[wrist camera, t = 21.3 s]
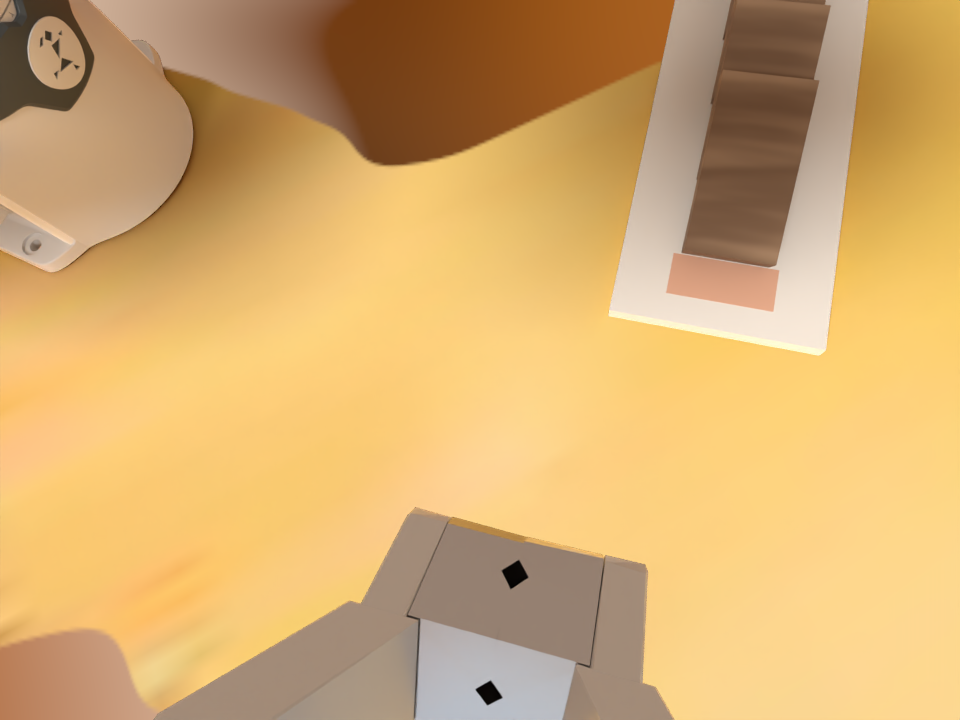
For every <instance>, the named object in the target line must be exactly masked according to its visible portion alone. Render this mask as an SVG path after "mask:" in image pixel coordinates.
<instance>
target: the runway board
mask: <svg viewBox="0 0 960 720" xmlns="http://www.w3.org/2000/svg"><path fill="white" fill-rule="evenodd" d="M868 1H869V0H826V2H825V5H831V7H830V12H829V16H828V20H827V25H826V29H825V33H824V38H823V42H822V46H821V51H820V55H819V59H818V64H817V68H816V72H815V77H814V80H820V81H819V85H818V89H817V93H816V98H815V102H814V106H813V110H812V115H811V119H810V123H809V128H808V132H807V136H806V140H805V145H804V149H803V153H802V157H801V162H800V166H799V170H798V175H797V179H796V183H795V187H794V192H793V196H792V200H791V204H790V209H789V213H788V217H787V222H786V226H785V230H784V234H783V239H782V243H781V247H780V252H779V256H778V260H777V264H776V266H773V267H769V268H768V267H762V266H756V265H750V264H744V263H738V262H732V261H726V260H720V259H714V258H708V257H702V256H696V255H690V254H684V253H681V252H682V247H683V242H684V238H685V233H686V229H687V224H688V219H689V215H690V210H691V206H692V201H693V196H694V192H695V187H696V183H697V180H696V178H697V174H698V169H699V164H700V160H701V155H702V150H703V146H704V141H705V137H706V132H707V127H708V123H709V118H710V113H711V109H712V104H711V99H712V94H713V90H714V85H715V81H716V76H717V71H718V67H719V62H720V57H721V53H722V48H723V44H724V40H723V35H724V31H725V26H726V22H727V17H728V12H729V8H730V3H731V0H675V3H674V8H673V13H672V17H671V22H670V27H669V31H668V36H667V41H666V45H665V50H664V55H663V59H662V64H661V69H660V73H659V78H658V83H657V88H656V92H655V97H654V102H653V106H652V111H651V116H650V121H649V125H648V130H647V135H646V139H645V144H644V149H643V154H642V158H641V163H640V168H639V172H638V177H637V182H636V186H635V191H634V196H633V201H632V205H631V210H630V215H629V219H628V224H627V229H626V234H625V238H624V243H623V248H622V252H621V257H620V262H619V267H618V271H617V276H616V281H615V285H614V290H613V295H612V299H611V304H610V309H609V315H608V316H611V317H616V318H622V319H627V320H632V321H638V322H643V323H648V324H654V325H659V326H664V327H670V328H675V329H680V330H686V331H691V332H696V333H702V334H707V335H712V336H718V337H723V338H728V339H734V340H739V341H744V342H750V343H755V344H760V345H766V346H771V347H776V348H782V349H787V350H792V351H798V352H803V353H808V354H814V355H821V354H822V353H823V352H824V351H826V345H827V336H828V328H829V320H830V312H831V304H832V296H833V287H834V279H835V271H836V263H837V255H838V246H839V238H840V230H841V222H842V214H843V205H844V197H845V189H846V181H847V173H848V164H849V156H850V148H851V140H852V132H853V123H854V115H855V107H856V99H857V91H858V83H859V74H860V66H861V58H862V50H863V42H864V33H865V25H866V17H867V9H868Z"/></svg>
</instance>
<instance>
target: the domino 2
mask: <svg viewBox="0 0 960 720" xmlns="http://www.w3.org/2000/svg"><path fill="white" fill-rule="evenodd" d="M819 81H820V80H811V79H802V78H793V77H784V76H776V75H767V74H758V73H749V72H740V71H731V70H723V72H722V74H721V76H720V79H719V82H718V86H717V91H716V95H715V100H714V105H713V109H712V114H711V118H710V123H709V128H708V132H707V137H706V141H705V146H704V151H703V155H702V160H701V164H700V169H699V174H698V178H697V183H696V187H695V192H694V196H693V201H692V206H691V210H690V215H689V219H688V224H687V229H686V233H685V238H684V242H683V247H682V252H681V253H684V254H690V255H696V256H702V257H708V258H714V259H720V260H726V261H732V262H738V263H744V264H750V265H756V266H762V267H768V268H769V267H773V266H776V264H777V260H778V256H779V252H780V247H781V243H782V239H783V234H784V230H785V226H786V222H787V217H788V213H789V209H790V204H791V200H792V196H793V192H794V187H795V183H796V179H797V175H798V170H799V166H800V162H801V157H802V153H803V149H804V145H805V140H806V136H807V132H808V128H809V123H810V119H811V115H812V110H813V106H814V102H815V98H816V93H817V89H818V85H819Z"/></svg>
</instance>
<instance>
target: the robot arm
mask: <svg viewBox="0 0 960 720" xmlns="http://www.w3.org/2000/svg"><path fill="white" fill-rule="evenodd" d="M192 144H193V124H192V119H191V115H190V112H189V109H188V107H187V105H186V103H185V101H184V99H183V98H182V96H181V95H180V94H179V93H178V92H177V91H176V89H175V88H174V87H173V86H172V85H171V84H170V83H169V82H168V81H167V79H166V78H165V76H164V72H163V67H162V63H161V60H160V57H159V55H158V53H157V52H156V51H155V50H154V49H153V48H152V47H151V46H150V45H149V44H148V43H147V42H145V41H143V40H132V41H131V40H130V39H128V37H126V35H124V33H122V31H121V30H120V29H118V28H117V26H115V24H114V23H112V22H111V21H110V20H109V19H108V18H107V17H106V16H105V15H104V14H103V13H102V12H101V11H100V10H99V9H98V8H97V7H96V6H95V5H94V4H93V3H92V2H91V1H90V0H0V250H1V251H3V252H6V253H8V254H10V255H12V256H14V257H16V258H19V259H21V260H23V261H25V262H27V263H29V264H31V265H34V266H36V267H38V268H40V269H42V270H44V271H47V272H56V271H59V270H61V269H63V268H65V267H66V266H68V265H69V264H70V263H72V262H73V261H74V260H75V259H77V258H78V257H79V256H80V255H81V254H83V253H84V252H85V251H86V250H87V249H88V248H90V247H92V246H93V245H95V244H97V243H100V242H102V241H104V240H107V239H110V238H112V237H115V236H117V235H119V234H122V233H124V232H126V231H128V230H130V229H131V228H133V227H135V226H136V225H138V224H139V223H141V222H142V221H144V220H145V219H146V218H148V217H149V216H150V215H151V214H152V213H154V212H155V211H156V210H157V209H158V208H159V207H160V206H161V205H162V204H163V203H164V202H165V200H166V199H167V198H168V197H169V196H170V194H171V193H172V192H173V190H174V189H175V187H176V186H177V184H178V183H179V181H180V179H181V177H182V175H183V174H184V171H185V169H186V167H187V164H188V161H189V158H190V155H191V150H192ZM40 246H41V247H40ZM647 581H648V570H647V568H646V565H645V564H641V563H637V562H632V561H628V560H624V559H620V558H615V557H611V556H607V555H605V557H604V556H603V555H602V554H598V553H594V552H589V551H585V550H581V549H577V548H573V547H568V546H564V545H560V544H556V543H552V542H548V541H543V540H539V539H535V538H531V537H524V536H521V535H517V534H514V533H510V532H506V531H503V530H499V529H495V528H492V527H488V526H484V525H481V524H477V523H473V522H470V521H466V520H463V519H459V518H455V517H448V516H445V515H441V514H438V513H434V512H430V511H427V510H423V509H420V508H416V507H415V508H414V509H413V510H412V511H411V512H410V513H409V514H408V515H407V517H406V519H405V521H404V523H403V525H402V526H401V528H400V530H399V532H398V534H397V536H396V538H395V540H394V542H393V544H392V545H391V547H390V549H389V551H388V553H387V555H386V557H385V559H384V561H383V563H382V564H381V566H380V568H379V570H378V572H377V574H376V576H375V578H374V580H373V582H372V583H371V585H370V587H369V589H368V591H367V593H366V595H365V597H364V599H363V601H362V602H361V604H360V603H356V602H353V601H348V602H346V603H345V604H343V605H341V606H340V607H338V608H336V609H335V610H333V611H331V612H329V613H328V614H326V615H324V616H323V617H321V618H319V619H318V620H316V621H314V622H313V623H311V624H309V625H307V626H306V627H304V628H302V629H301V630H299V631H297V632H296V633H294V634H292V635H290V636H289V637H287V638H285V639H284V640H282V641H280V642H279V643H277V644H275V645H274V646H272V647H270V648H268V649H267V650H265V651H263V652H262V653H260V654H258V655H257V656H255V657H253V658H251V659H250V660H248V661H246V662H245V663H243V664H241V665H240V666H238V667H236V668H235V669H233V670H231V671H229V672H228V673H226V674H224V675H223V676H221V677H219V678H218V679H216V680H214V681H212V682H211V683H209V684H207V685H206V686H204V687H202V688H201V689H199V690H197V691H196V692H194V693H192V694H190V695H189V696H187V697H185V698H184V699H182V700H180V701H179V702H177V703H175V704H173V705H172V706H170V707H168V708H167V709H165V710H163V711H162V712H160V713H158V714H157V716H156V717H155V718H154V720H674V718H673V716H672V715H671V713H670V711H669V709H668V708H667V706H666V704H665V702H664V701H663V699H662V697H661V695H660V694H659V692H658V690H657V688H656V687H654V686H651V685H648V684H645V683H642V680H643V660H644V640H645V621H646V601H647Z"/></svg>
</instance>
